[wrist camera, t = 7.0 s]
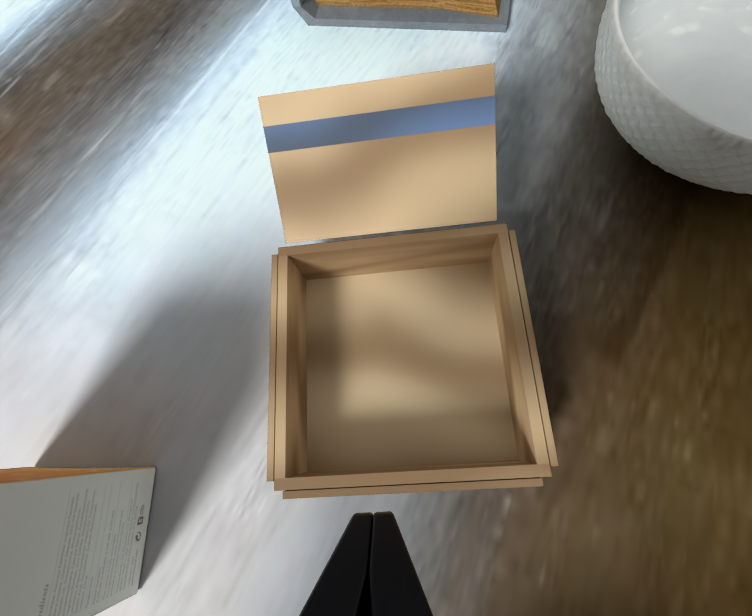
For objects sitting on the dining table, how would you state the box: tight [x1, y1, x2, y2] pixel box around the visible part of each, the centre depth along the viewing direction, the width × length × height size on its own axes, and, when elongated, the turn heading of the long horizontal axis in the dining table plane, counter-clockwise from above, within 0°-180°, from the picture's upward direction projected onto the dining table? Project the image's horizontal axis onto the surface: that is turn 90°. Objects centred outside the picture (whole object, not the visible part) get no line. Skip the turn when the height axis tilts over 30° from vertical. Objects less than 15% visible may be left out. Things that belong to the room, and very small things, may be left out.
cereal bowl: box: [594, 0, 752, 195], centre depth 23 cm, size 17×17×7 cm
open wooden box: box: [267, 223, 558, 499], centre depth 21 cm, size 12×13×4 cm
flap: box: [258, 63, 497, 243], centre depth 20 cm, size 7×11×1 cm
